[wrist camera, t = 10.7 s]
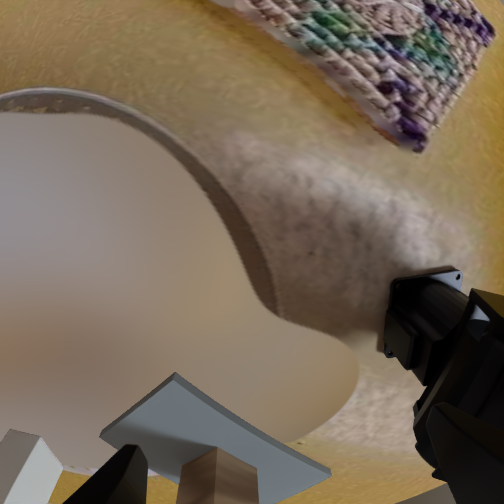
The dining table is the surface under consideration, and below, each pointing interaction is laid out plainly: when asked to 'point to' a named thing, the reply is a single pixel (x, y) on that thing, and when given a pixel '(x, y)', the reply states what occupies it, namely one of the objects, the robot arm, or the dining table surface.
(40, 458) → the milk
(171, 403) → the mat
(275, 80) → the dining table surface
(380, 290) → the dining table surface
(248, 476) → the marked block
